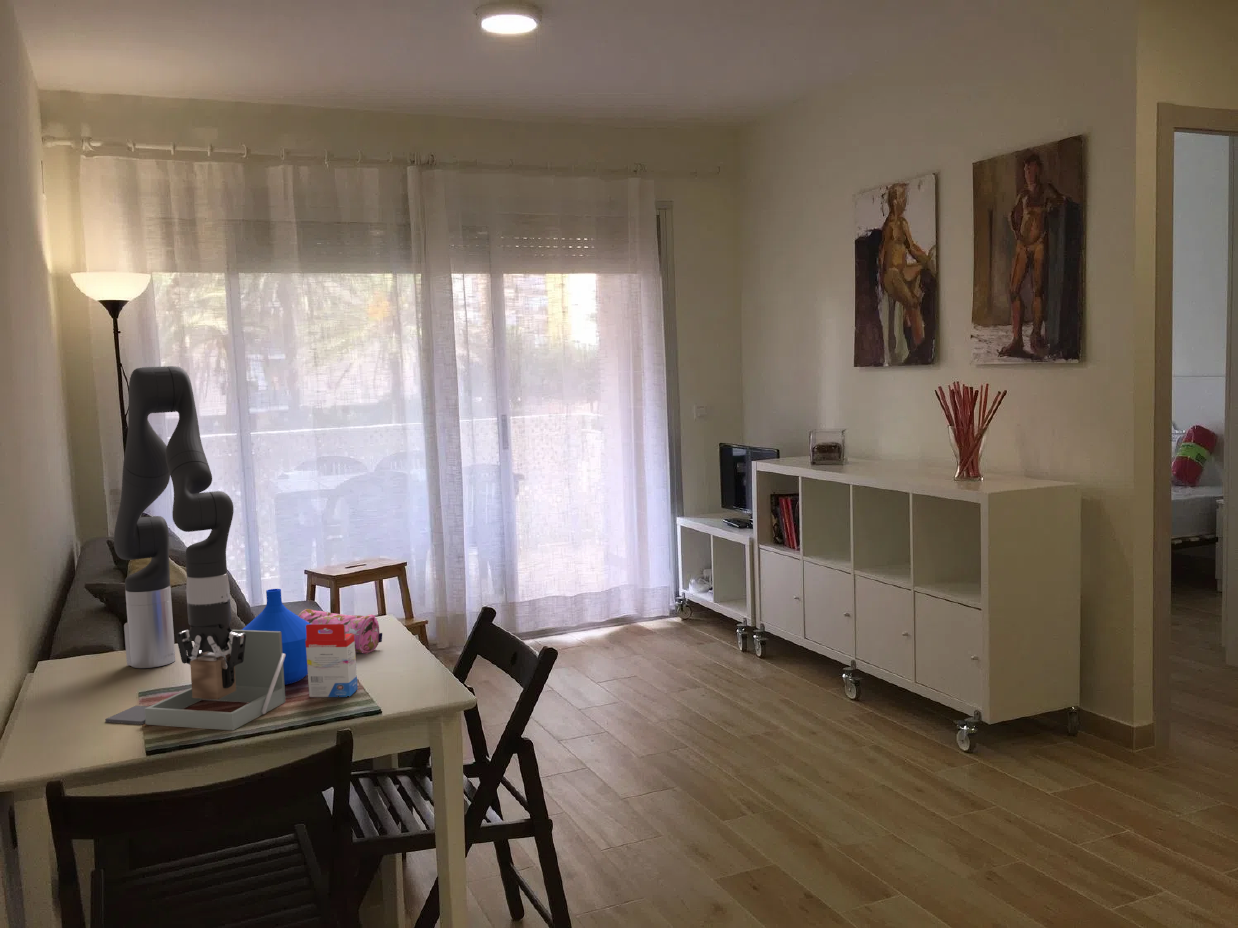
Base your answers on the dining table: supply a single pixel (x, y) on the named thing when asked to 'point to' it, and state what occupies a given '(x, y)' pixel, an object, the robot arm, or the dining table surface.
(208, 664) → the module
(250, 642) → the case
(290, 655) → the blue funnel
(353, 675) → the ink box
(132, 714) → the mat
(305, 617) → the pencil case
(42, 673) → the dining table surface
